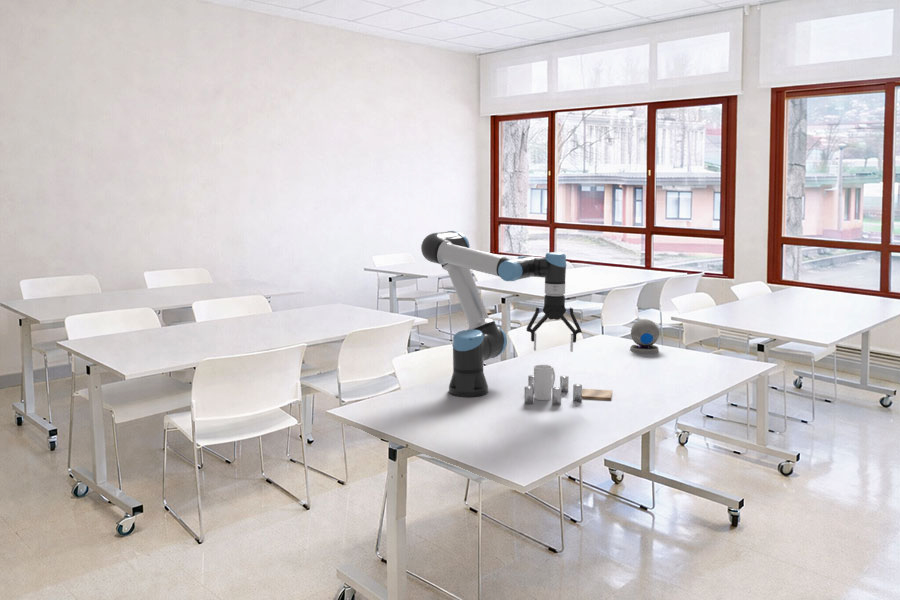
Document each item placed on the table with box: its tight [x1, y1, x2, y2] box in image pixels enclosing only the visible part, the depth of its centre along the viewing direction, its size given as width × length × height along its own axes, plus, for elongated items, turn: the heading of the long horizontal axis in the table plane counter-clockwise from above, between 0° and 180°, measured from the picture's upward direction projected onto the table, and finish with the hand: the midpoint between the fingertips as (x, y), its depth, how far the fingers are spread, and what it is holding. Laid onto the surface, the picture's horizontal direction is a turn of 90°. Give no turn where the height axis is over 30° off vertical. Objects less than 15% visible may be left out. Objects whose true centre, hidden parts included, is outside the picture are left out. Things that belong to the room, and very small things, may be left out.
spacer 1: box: [527, 374, 534, 393], centre depth 288 cm, size 3×3×6 cm
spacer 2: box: [523, 385, 534, 406], centre depth 273 cm, size 3×3×6 cm
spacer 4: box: [559, 374, 569, 394], centre depth 287 cm, size 3×3×6 cm
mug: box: [533, 364, 556, 401], centre depth 280 cm, size 10×7×12 cm, turn 131°
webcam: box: [629, 318, 660, 354], centre depth 354 cm, size 13×13×15 cm
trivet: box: [582, 388, 613, 401], centre depth 282 cm, size 12×10×1 cm
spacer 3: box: [551, 386, 562, 406], centre depth 271 cm, size 3×3×6 cm
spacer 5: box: [572, 383, 583, 403], centre depth 275 cm, size 3×3×6 cm
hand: (553, 350), depth 280 cm, fingers open, 13 cm apart
